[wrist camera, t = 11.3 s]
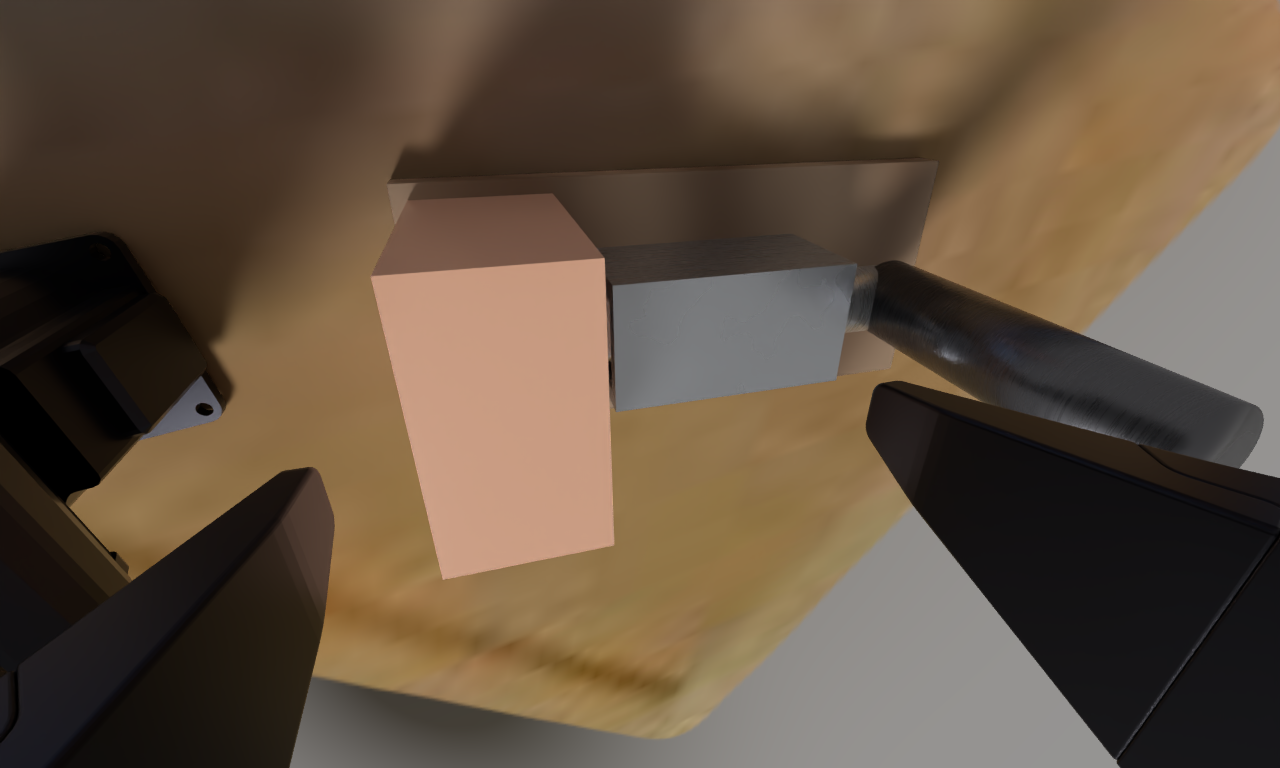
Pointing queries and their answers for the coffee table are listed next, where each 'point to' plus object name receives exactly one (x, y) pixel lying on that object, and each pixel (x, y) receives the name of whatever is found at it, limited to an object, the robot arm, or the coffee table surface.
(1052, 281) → the coffee table surface
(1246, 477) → the robot arm
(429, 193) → the base board
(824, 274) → the grey rectangular block
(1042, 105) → the coffee table surface
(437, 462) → the socket
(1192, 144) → the coffee table surface
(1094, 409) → the black handled metal tool
